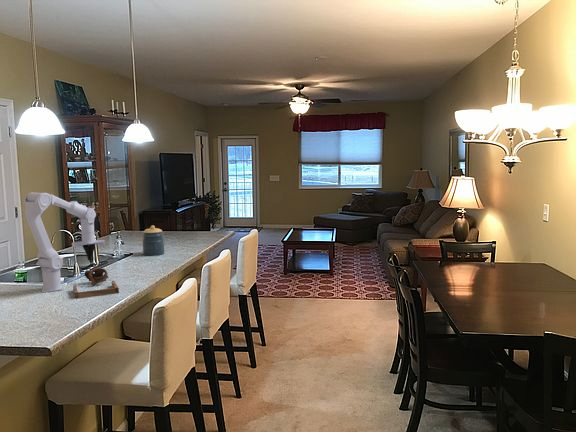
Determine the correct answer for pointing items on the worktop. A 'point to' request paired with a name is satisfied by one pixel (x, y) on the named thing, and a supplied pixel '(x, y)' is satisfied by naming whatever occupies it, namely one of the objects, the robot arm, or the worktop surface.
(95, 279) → the pottery mug
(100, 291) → the corral
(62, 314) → the worktop surface
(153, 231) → the canister
